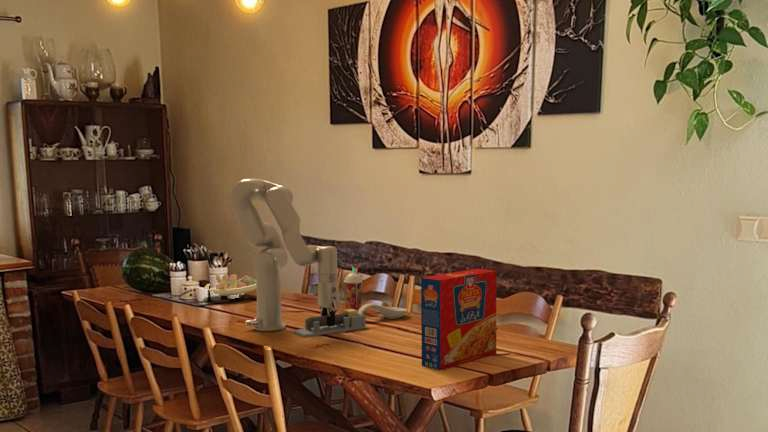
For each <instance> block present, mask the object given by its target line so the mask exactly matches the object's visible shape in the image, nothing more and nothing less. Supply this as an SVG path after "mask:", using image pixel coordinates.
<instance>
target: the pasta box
mask: <svg viewBox="0 0 768 432" xmlns="http://www.w3.org/2000/svg"><path fill="white" fill-rule="evenodd" d="M420 283H421V284H420V291H421V293H420V294H421V297H420V301H421V303H420V304H421V305H420V310H421V313H420V314H421V316H420V317H421V318H420V320H421V366H422V367H425V368H429V367H430V369H432V368H434V369H433V370H436V369H438V370H437V371H440V370H442V371H445V370H448V369H451V368H453V367H454V366H455V367H457V366H461V365H464V364H467V363H471V362H473V361H477V360H480V359H484V358H486V357H490V356H493V355H496V354H497V270H491V269H482V268H472V269H467V270H460V271H456V272H447V273H443V274H442V273H441V274H436V275H430V276H429V275H428V276H423V277H420ZM447 368H448V369H447ZM444 369H445V370H444Z"/></svg>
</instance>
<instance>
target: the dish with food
mask: <svg viewBox="0 0 768 432" xmlns="http://www.w3.org/2000/svg"><path fill="white" fill-rule="evenodd" d="M215 278H216V280H217V282H218V283H219V282H220V283H219V284H218V285H216V289H209V286H210V283H207V284H206V285H205V286H204V287H203V288H206V289H208V290H209V291H213V292H214V293H215V294H219V295H218V296H221V297H226V296H230V295H238V294H240V295H243V294H247V293H249V292H252V291H254V290H256V278H253V277H251V276H249V275H244V276H242V277H241V278H239V275H237V274H236V273H234V274H230V275H229V276H228V274H227V273H224V274H223V276H222V277H221V276H220V274H219V273H218V274H216V275H215ZM227 288H228V289H227ZM242 293H243V294H242Z"/></svg>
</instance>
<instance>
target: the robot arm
mask: <svg viewBox="0 0 768 432" xmlns="http://www.w3.org/2000/svg"><path fill="white" fill-rule="evenodd" d="M256 200H258V201H261V202H264V203H266V206H267V207H268V209H269V210H270V212H271V214H272V215H273V217H274V219H275V221H276V223H277V224H278V227H280V228H279V229H280V231H281V235H282V239H281V236H280V235H279V232H278V230H277V229H276V227H275V226H274V225H273V224H271V223H270V222H265V221H263V220H262V219H261V216H260V214H259V212H258V209H257V208H256V206H255V205H254V204H253V203H252V202H253V201H256ZM293 200H294V196H293V192H292V191H291V189H289V188H288V187H286V186H284V185H280V184H276V183H274V182H271V181H267V180H264V179H261V178H243V179H241V180H238V181H237V182H236V183H235V184H234V185H233V186H232V189H231V192H230V194H229V201H230V206H231V209H232V211H233V213H234V215H235V218H236V219H237V221H238V224H239V227H240V229H241V230H242V233H243V235H244V238H245V240H246V242H247V244H248V245H249V246H250V247H253V248H255V249H256V248H260V251H258V252H257V254H256V255H255V256H254V259H253V267H254V273H255V280H256V289H255V290H256V316H255V317H254V318H253V319H251V320H250V319H249V320H245V321H244V324H245V327H246V326H247V327H248V326H251V327H252V328H253V330H254V331H257V332H275V331H280V330H284V329H285V328H286V324H285V323H283V322H282V321H283V320H282V283H281V282H282V281H281V276H280V271H279V270H281V269H283V268H285V267H286V266H287V263H288V261H289V256H288V254H289V255H290V257H291V258H292V260H293V261H294V263H295V264H296V265H298V266H300V267H302V268H303V267H304V268H305V267H309V266H311V265H314V264H317V305H318V307H319V309H320V316H325V315H328V316H327V326H328V327H330V326H335V315H336V314H337V312H338V310H339V308H340V307H341V306H340V305H341V303H340V302H341V301H340V289H339V284H338V248H337V247H336V246H331V245H323V246H321V245H315V244H314V245H313V244H308V245H307V244H306V243H305V240H304V238H303V236H302V234H301V230H300V229H301V228H300V226H301V218H300V215H299V214H298V211H296V208H295V207H294V205H293V204H292V203H293ZM282 240H283V241H282ZM287 251H288V252H287Z"/></svg>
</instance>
